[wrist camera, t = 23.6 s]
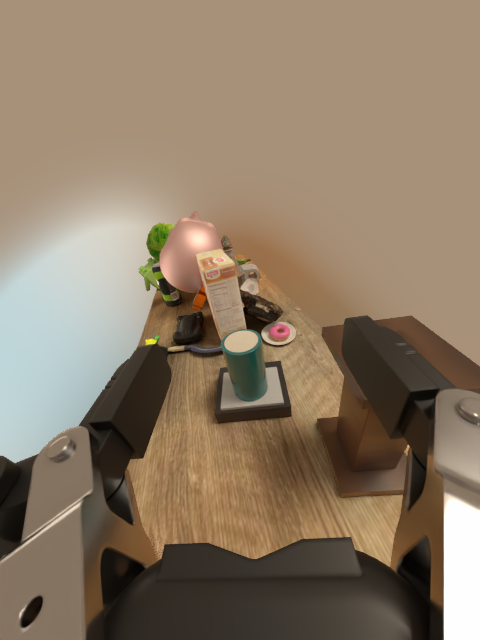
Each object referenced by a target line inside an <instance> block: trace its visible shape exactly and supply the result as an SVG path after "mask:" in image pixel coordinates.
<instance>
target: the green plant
mask: <svg viewBox="0 0 480 640" xmlns="http://www.w3.org/2000/svg"><path fill="white" fill-rule="evenodd" d="M148 262H149V263H148V264H147V265H146V266H145V267H143V266H141V267H140V268H139V270H140V271H139V273H140V274H141V275H142V276H143V277H144V279H145V285H146V290H147V291H149V290H150V283H151V284H152V285H153V286H155V287H156V288H158V289H160V288H159V286H158V284H157V281H156V279H155V276H154V274H153V271H152V265H153V264H155V263H157V262H160V261H158V260H156V259H152V258H150V259H148Z"/></svg>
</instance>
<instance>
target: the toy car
mask: <svg viewBox="0 0 480 640" xmlns="http://www.w3.org/2000/svg"><path fill="white" fill-rule="evenodd" d="M177 320H178V325H177V329H176V332H175V333H174V334H173V338H174V342H175V343H176V344H183V343H191V342H193V341H197V340H199V339H201V338H202V337H203V330H202V322H203V320H204V318H203V314H202V312H201V311H200V312H198V313H193V314H189V315H184V316H178V318H177Z"/></svg>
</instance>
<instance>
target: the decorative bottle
mask: <svg viewBox="0 0 480 640" xmlns="http://www.w3.org/2000/svg"><path fill="white" fill-rule="evenodd" d="M221 244H222V247H224V248H223V250H224V253H225V254H226V255H227V256H228V257H229V258H230V259H231V260H232V261H233V262H234V263H235V268H236V274H237V279H238V284H239V281H240V280H241V278H242V276H243V275H244V272H245V271H244V270H243V268H242V267H241V266H240V265H239V263H238V262H237V261H236V259H235V258H234V257H233V254H232V249H233V247H229V246H231V245H232V243H231V241H230V240H229V238H228V237H227V236H225V235H224V236H223V238H222V240H221ZM239 289H241V285H239Z"/></svg>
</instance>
